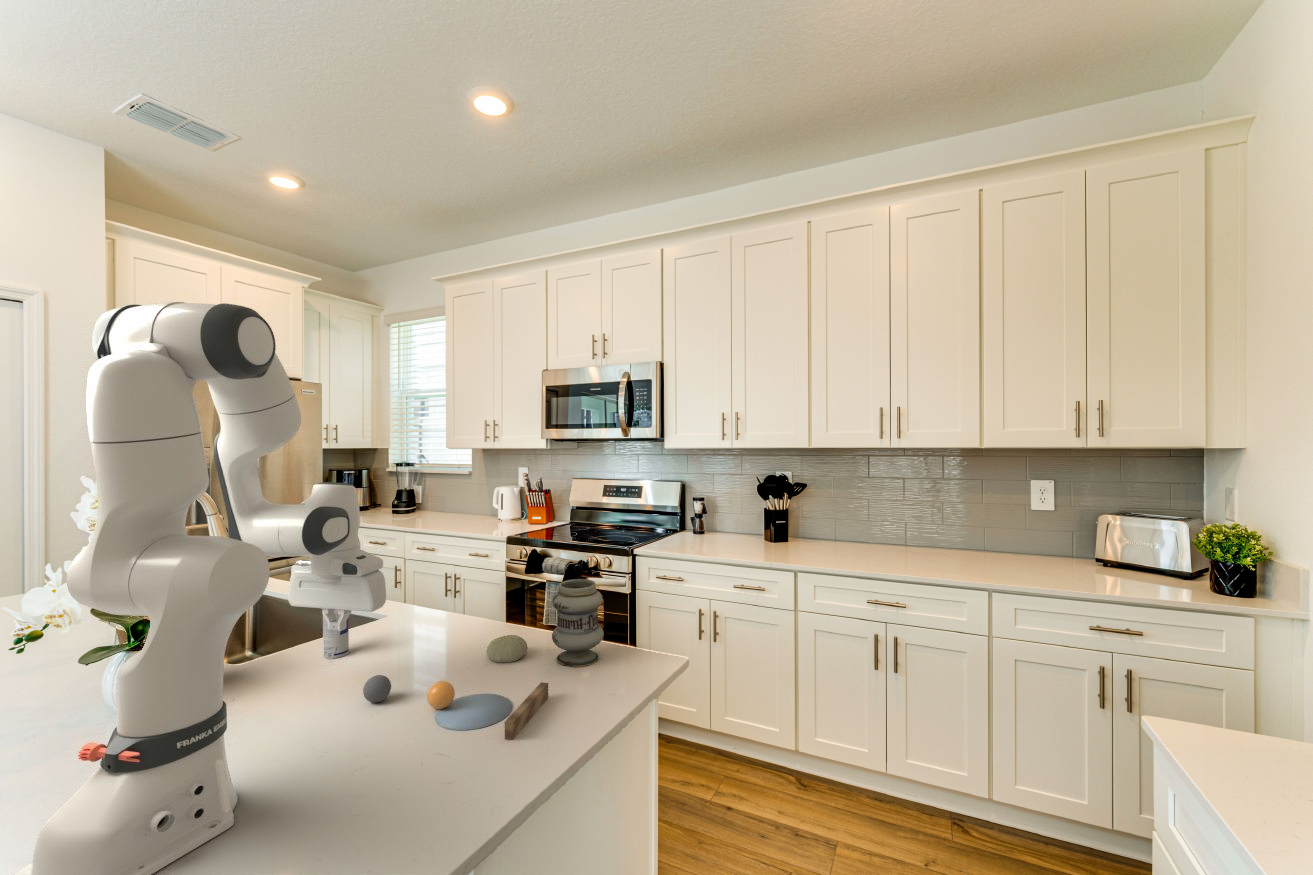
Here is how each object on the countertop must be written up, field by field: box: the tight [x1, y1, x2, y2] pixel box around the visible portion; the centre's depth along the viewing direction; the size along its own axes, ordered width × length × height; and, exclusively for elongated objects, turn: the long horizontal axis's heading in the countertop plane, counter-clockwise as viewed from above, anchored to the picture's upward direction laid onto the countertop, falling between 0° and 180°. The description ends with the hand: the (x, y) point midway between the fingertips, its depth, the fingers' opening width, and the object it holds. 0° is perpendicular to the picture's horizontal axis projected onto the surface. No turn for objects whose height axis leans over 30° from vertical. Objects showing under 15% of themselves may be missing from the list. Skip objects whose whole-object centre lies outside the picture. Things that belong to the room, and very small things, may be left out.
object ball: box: [426, 680, 456, 710], centre depth 109 cm, size 5×5×5 cm
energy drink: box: [322, 609, 350, 659], centre depth 136 cm, size 5×5×12 cm
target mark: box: [434, 693, 513, 731], centre depth 108 cm, size 14×14×1 cm
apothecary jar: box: [551, 578, 605, 668], centre depth 133 cm, size 12×12×18 cm
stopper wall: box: [504, 681, 549, 741], centre depth 105 cm, size 16×2×3 cm, turn 169°
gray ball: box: [362, 674, 392, 704], centre depth 112 cm, size 5×5×5 cm
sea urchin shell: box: [486, 634, 528, 664], centre depth 134 cm, size 9×8×8 cm
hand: (337, 629), depth 114 cm, fingers closed
